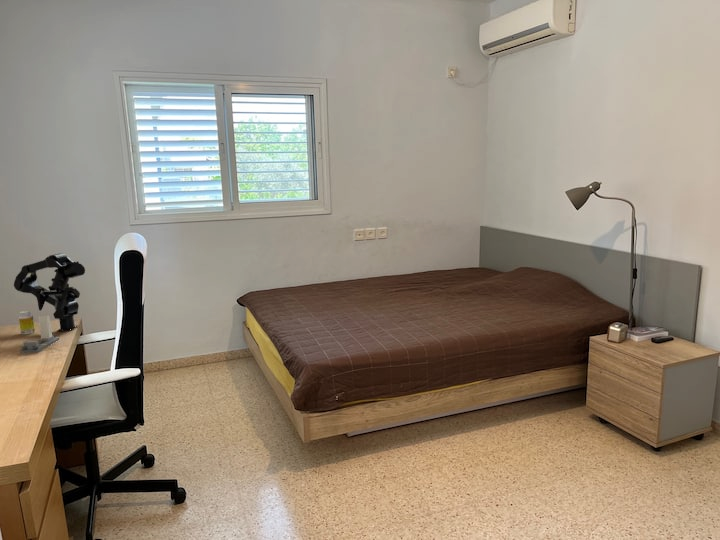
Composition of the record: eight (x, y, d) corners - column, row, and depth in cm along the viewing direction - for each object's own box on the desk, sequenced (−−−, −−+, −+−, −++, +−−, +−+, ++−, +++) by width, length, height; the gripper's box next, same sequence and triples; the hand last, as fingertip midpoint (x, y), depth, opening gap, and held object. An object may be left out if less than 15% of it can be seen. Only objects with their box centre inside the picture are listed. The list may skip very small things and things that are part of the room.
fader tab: (46, 337, 220) (42, 314, 217) (54, 337, 220) (50, 314, 218) (40, 341, 215) (36, 317, 213) (48, 341, 215) (44, 317, 213)
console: (43, 340, 220) (42, 331, 220) (59, 339, 221) (58, 330, 220) (20, 353, 205) (18, 343, 204) (38, 352, 205) (36, 343, 204)
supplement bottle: (36, 333, 231) (32, 311, 229) (21, 335, 228) (18, 313, 226) (34, 330, 236) (31, 309, 234) (20, 332, 232) (16, 311, 230)
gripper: (90, 288, 235) (80, 317, 227) (51, 289, 236) (40, 319, 228) (77, 275, 226) (67, 305, 218) (37, 276, 227) (25, 307, 218)
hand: (50, 309), depth 221 cm, fingers open, 9 cm apart
